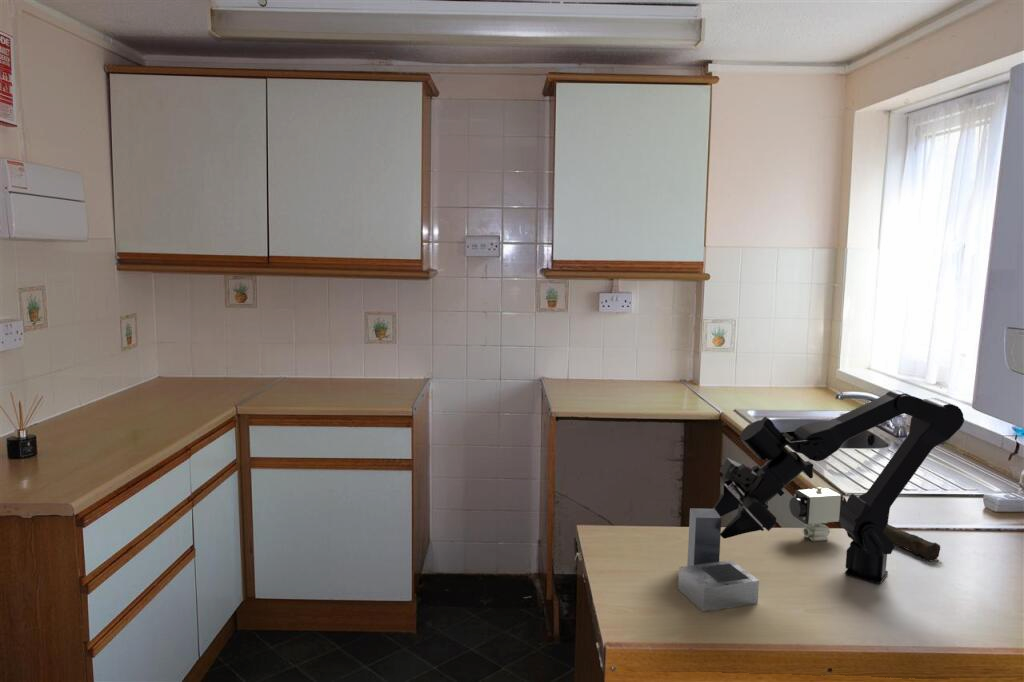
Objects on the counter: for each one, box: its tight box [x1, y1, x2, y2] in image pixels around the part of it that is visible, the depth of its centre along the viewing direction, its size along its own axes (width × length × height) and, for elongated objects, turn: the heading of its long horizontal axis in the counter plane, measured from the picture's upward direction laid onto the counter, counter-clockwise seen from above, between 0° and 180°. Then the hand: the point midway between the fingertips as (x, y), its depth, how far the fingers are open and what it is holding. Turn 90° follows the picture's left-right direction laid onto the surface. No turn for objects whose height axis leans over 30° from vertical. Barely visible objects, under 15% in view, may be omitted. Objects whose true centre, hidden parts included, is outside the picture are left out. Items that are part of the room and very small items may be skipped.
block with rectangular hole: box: [677, 559, 760, 613], centre depth 134 cm, size 12×9×4 cm
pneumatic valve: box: [788, 486, 847, 543], centre depth 161 cm, size 6×12×12 cm, turn 101°
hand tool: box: [883, 523, 941, 562], centre depth 159 cm, size 19×4×5 cm, turn 21°
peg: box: [686, 507, 722, 566], centre depth 144 cm, size 5×5×12 cm
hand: (715, 527), depth 143 cm, fingers open, 9 cm apart
